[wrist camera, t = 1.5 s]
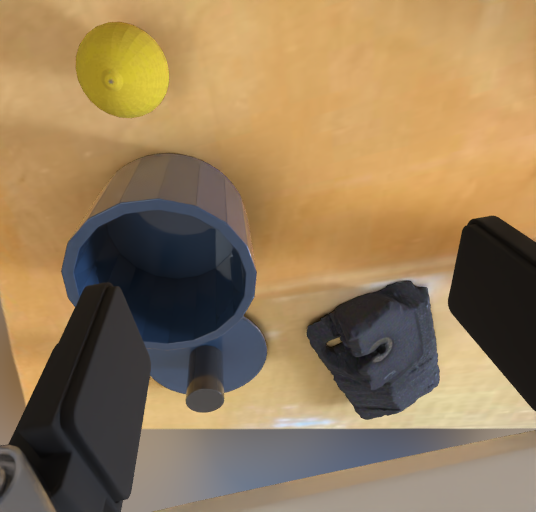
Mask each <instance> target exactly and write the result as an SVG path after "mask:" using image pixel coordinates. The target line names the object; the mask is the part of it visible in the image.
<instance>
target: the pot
mask: <svg viewBox="0 0 536 512" xmlns="http://www.w3.org/2000/svg"><path fill="white" fill-rule="evenodd" d="M61 270H62V271H61V272H62V276H63V280H64V284H65V288H66V292H67V296H68V298H69V300H70V301H71V302H72V304H73V305H74V306H75V307H76V305H77V302H78V300H79V298H80V296H81V294H82V292H83V289H84V288H85V287H86V286H88V285H94V284H100V283H106V282H110V283H111V284H112V285H113V287H115V286H119V287H120V288H121V290H122V292H123V295H124V297H125V299H126V302H127V304H128V307H129V309H130V311H131V314H132V316H133V318H134V321H135V323H136V325H137V328H138V330H139V333H140V335H141V337H142V340H143V342H144V344H145V347H146V348H148V349H159V350H175V349H182V348H189V347H196V346H199V345H201V344H203V343H206V342H208V341H210V340H213V339H215V338H218V337H220V336H222V335H223V334H225V333H226V332H227V331H228V330H229V329H230V328H232V327H233V326H234V325H235V324H236V323H238V322H239V321H240V320H241V319H242V318H243V316H244V314H245V312H246V311H247V309H248V307H249V305H250V304H251V302H252V300H253V298H254V295H255V285H256V275H257V271H256V265H255V259H254V253H253V247H252V241H251V234H250V228H249V222H248V217H247V214H246V210H245V206H244V204H243V201H242V198H241V196H240V194H239V192H238V191H237V189H236V188H235V186H234V185H233V184H232V182H231V181H230V180H229V179H228V178H227V177H226V176H225V175H224V174H223V173H221V172H220V171H219V170H218V169H216V168H215V167H213V166H211V165H210V164H208V163H206V162H204V161H202V160H199V159H196V158H193V157H190V156H186V155H181V154H171V153H165V154H154V155H148V156H145V157H142V158H139V159H136V160H134V161H132V162H130V163H128V164H127V165H125V166H124V167H122V168H121V169H119V170H118V171H117V172H116V173H115V174H114V175H113V176H112V178H111V179H110V180H109V181H108V183H107V184H106V185H105V186H104V188H103V189H102V190H101V192H100V193H99V195H98V196H97V198H96V200H95V201H94V203H93V204H92V206H91V207H90V209H89V210H88V212H87V213H86V215H85V217H84V218H83V220H82V221H81V223H80V224H79V226H78V227H77V229H76V231H75V232H74V234H73V235H72V237H71V238H70V240H69V241H68V243H67V247H66V252H65V256H64V260H63V265H62V269H61Z"/></svg>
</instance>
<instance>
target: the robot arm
mask: <svg viewBox="0 0 536 512" xmlns="http://www.w3.org/2000/svg"><path fill="white" fill-rule="evenodd" d="M448 306H449V309H450V311H451V313H452V314H453V316H454V317H455V318H456V319H457V320H458V321H459V323H460V324H461V325H462V326H463V327H464V329H465V330H466V331H467V332H468V333H469V334H470V336H471V337H472V338H473V339H474V340H475V341H476V343H477V344H478V345H479V346H480V347H481V349H482V350H483V351H484V352H485V353H486V354H487V356H488V357H489V358H490V359H491V360H492V362H493V363H494V364H495V365H496V366H497V367H498V369H499V370H500V371H501V372H502V373H503V375H504V376H505V377H506V378H507V379H508V380H509V382H510V383H511V384H512V385H513V386H514V388H515V389H516V390H517V391H518V392H519V393H520V395H521V396H522V397H523V398H524V399H525V401H526V402H527V403H528V404H529V405H530V406H531V408H532V409H533V410H534V411H536V242H535V241H533V240H532V239H530V238H528V237H527V236H525V235H524V234H522V233H521V232H519V231H518V230H516V229H515V228H513V227H512V226H510V225H509V224H507V223H506V222H504V221H503V220H501V219H500V218H498V217H496V216H488V217H482V218H476V219H472V220H470V221H469V223H468V225H467V226H465V227H464V228H463V230H462V234H461V239H460V244H459V249H458V254H457V259H456V264H455V269H454V274H453V279H452V284H451V289H450V293H449V298H448ZM150 372H151V360H150V356H149V354H148V351H147V349H146V347H145V344H144V342H143V340H142V337H141V335H140V333H139V330H138V328H137V325H136V323H135V321H134V318H133V316H132V314H131V311H130V309H129V307H128V304H127V302H126V299H125V297H124V295H123V292H122V290H121V288H120V287H119V286H115V287H113V285H112V284H111V283H110V282H106V283H100V284H94V285H88V286H86V287H85V288H84V289H83V292H82V294H81V296H80V298H79V300H78V302H77V305H76V307H75V309H74V311H73V313H72V315H71V317H70V320H69V322H68V324H67V326H66V328H65V330H64V333H63V335H62V337H61V339H60V341H59V343H58V344H57V345H56V346H55V348H54V349H53V351H52V353H51V355H50V358H49V360H48V362H47V364H46V366H45V368H44V370H43V372H42V375H41V377H40V379H39V381H38V383H37V385H36V387H35V389H34V391H33V394H32V396H31V398H30V400H29V402H28V404H27V406H26V408H25V411H24V413H23V415H22V417H21V419H20V421H19V423H18V426H17V427H16V430H15V432H14V434H13V436H12V438H11V440H10V442H9V444H8V445H1V446H0V512H121V507H122V502H123V500H125V499H128V498H129V496H130V494H131V489H132V483H133V477H134V470H135V464H136V459H137V452H138V446H139V440H140V434H141V428H142V422H143V415H144V409H145V403H146V397H147V391H148V385H149V378H150ZM154 512H536V430H534V431H529V432H524V433H519V434H514V435H509V436H504V437H499V438H494V439H490V440H485V441H480V442H475V443H470V444H465V445H460V446H456V447H451V448H446V449H441V450H436V451H431V452H427V453H422V454H417V455H412V456H407V457H403V458H398V459H393V460H388V461H384V462H379V463H374V464H369V465H365V466H360V467H356V468H350V469H345V470H341V471H336V472H331V473H327V474H322V475H317V476H313V477H308V478H303V479H299V480H294V481H289V482H285V483H280V484H275V485H271V486H266V487H261V488H257V489H252V490H247V491H243V492H238V493H233V494H229V495H224V496H219V497H215V498H210V499H205V500H201V501H196V502H192V503H188V504H184V505H180V506H175V507H171V508H166V509H162V510H158V511H154Z"/></svg>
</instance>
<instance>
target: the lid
mask: <svg viewBox="0 0 536 512" xmlns="http://www.w3.org/2000/svg"><path fill="white" fill-rule="evenodd" d="M146 349H147V351H148V354H149V356H150V360H151V372H150V376H151V377H152V378H153V379H154V380H155V381H157V382H158V383H159V384H161V385H162V386H164V387H166V388H168V389H170V390H172V391H176V392H179V393H183V394H186V404H187V406H188V407H189V408H190V409H191V410H193V411H196V412H211V411H214V410H216V409H218V408H220V407H221V406H222V404H223V403H224V393H226V392H229V391H232V390H235V389H237V388H239V387H241V386H243V385H245V384H246V383H248V382H249V381H251V380H252V379H253V378H254V377H255V376H256V375H257V374H258V373H259V372H260V370H261V369H262V367H263V365H264V363H265V360H266V356H267V346H266V341H265V338H264V336H263V334H262V332H261V331H260V329H259V328H258V327H257V326H256V325H255V324H254V323H253V322H252V321H250V320H249V319H247V318H246V317H244V316H243V318H242V319H241V320H240V321H239V322H238V323H236V324H235V325H234V326H233V327H232V328H230V329H229V330H228V331H227V332H226V333H225V334H223V335H222V336H220V337H218V338H215V339H213V340H210V341H208V342H206V343H203V344H201V345H199V346H196V347H189V348H182V349H175V350H159V349H148V348H146Z"/></svg>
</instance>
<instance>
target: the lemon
mask: <svg viewBox="0 0 536 512" xmlns="http://www.w3.org/2000/svg"><path fill="white" fill-rule="evenodd" d="M76 72H77V77H78V81H79V83H80V85H81V87H82V89H83V91H84V93H85V94H86V95H87V97H88V98H89V100H90V101H91V102H93V103H94V104H95V105H96V106H97V107H98V108H100V109H101V110H103V111H105V112H106V113H108V114H111V115H114V116H117V117H122V118H135V117H140V116H143V115H145V114H147V113H149V112H151V111H153V110H154V109H155V108H156V107H157V106H158V105H159V104H160V103H161V101H162V100H163V98H164V96H165V95H166V92H167V88H168V84H169V70H168V65H167V61H166V58H165V56H164V54H163V52H162V50H161V48H160V47H159V46H158V44H157V43H156V41H155V40H154V39H153V38H152V37H151V36H149V35H148V34H147V33H146V32H145V31H143V30H141V29H139V28H137V27H136V26H134V25H130V24H127V23H123V22H108V23H105V24H103V25H100V26H97V27H95V28H94V29H93V30H91V31H90V32H89V33H87V34H86V36H85V37H84V39H83V40H82V42H81V43H80V45H79V48H78V52H77V55H76Z"/></svg>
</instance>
